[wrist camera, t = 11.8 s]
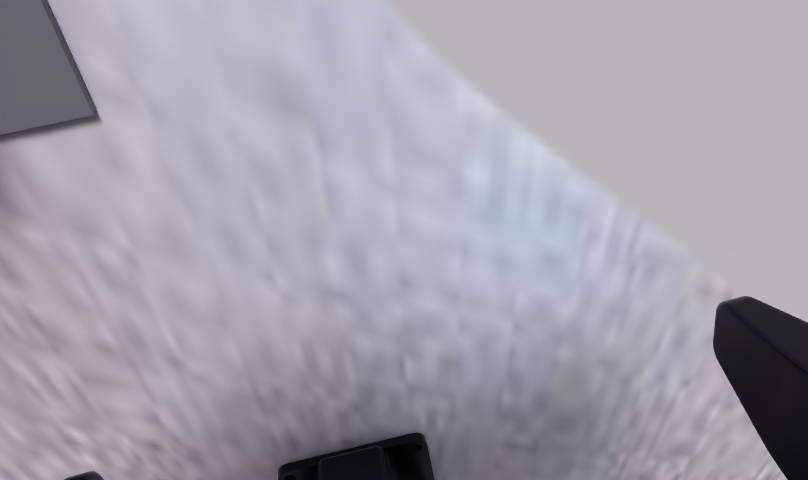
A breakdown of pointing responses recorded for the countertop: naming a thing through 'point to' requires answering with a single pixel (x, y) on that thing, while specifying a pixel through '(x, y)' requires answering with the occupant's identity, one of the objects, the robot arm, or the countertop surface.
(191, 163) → the countertop surface
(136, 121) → the countertop surface
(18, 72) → the dark gray flat plate
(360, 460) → the robot arm
